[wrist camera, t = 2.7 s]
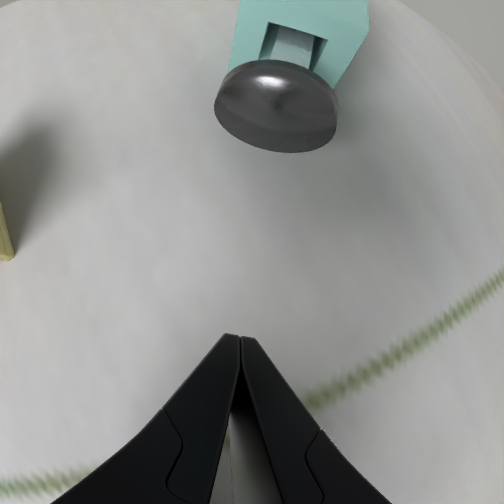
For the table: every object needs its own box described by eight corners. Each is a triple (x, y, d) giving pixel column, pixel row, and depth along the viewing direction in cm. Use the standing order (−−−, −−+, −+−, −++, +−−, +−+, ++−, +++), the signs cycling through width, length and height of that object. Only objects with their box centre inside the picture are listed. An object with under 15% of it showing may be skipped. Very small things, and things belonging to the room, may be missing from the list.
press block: (317, 116, 26) (369, 31, 15) (225, 90, 25) (241, -9, 14) (328, 35, 28) (364, -37, 18) (255, 14, 27) (275, -64, 17)
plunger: (313, 163, 21) (356, 105, 14) (211, 135, 20) (218, 64, 14) (329, 48, 24) (358, -8, 17) (252, 25, 23) (267, -36, 16)
